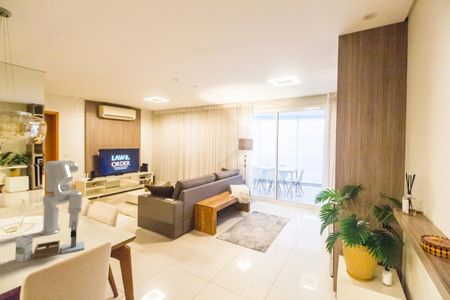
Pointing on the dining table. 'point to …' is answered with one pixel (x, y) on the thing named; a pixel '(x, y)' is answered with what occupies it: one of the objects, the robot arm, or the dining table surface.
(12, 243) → the dining table surface
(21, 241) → the syrup box
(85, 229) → the dining table surface
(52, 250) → the box
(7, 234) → the dining table surface
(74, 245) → the lid
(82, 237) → the dining table surface
